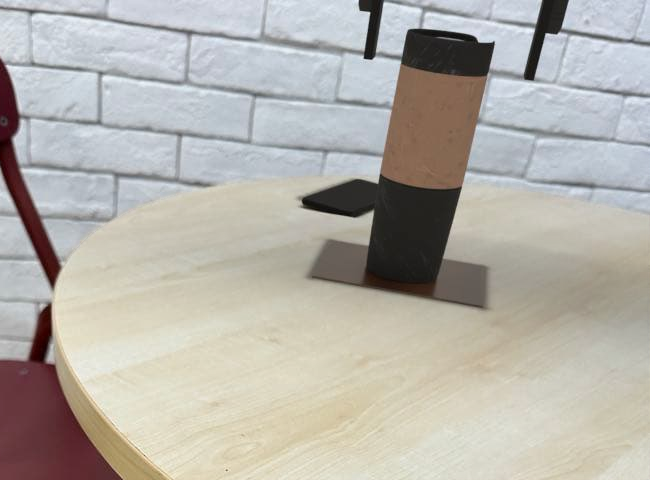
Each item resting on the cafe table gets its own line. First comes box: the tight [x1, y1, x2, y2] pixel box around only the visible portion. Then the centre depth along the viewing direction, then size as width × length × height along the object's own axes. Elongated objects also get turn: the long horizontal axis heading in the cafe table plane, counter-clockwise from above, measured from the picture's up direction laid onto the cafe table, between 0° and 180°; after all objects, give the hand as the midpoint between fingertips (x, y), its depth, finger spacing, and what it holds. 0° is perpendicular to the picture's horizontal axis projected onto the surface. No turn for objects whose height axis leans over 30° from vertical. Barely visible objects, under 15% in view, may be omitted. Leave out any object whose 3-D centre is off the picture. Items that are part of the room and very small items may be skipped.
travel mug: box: [366, 28, 496, 283], centre depth 77 cm, size 8×8×20 cm
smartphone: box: [301, 178, 378, 218], centre depth 105 cm, size 7×1×15 cm
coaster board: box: [311, 239, 485, 309], centre depth 83 cm, size 16×12×1 cm
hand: (447, 68), depth 73 cm, fingers open, 13 cm apart
